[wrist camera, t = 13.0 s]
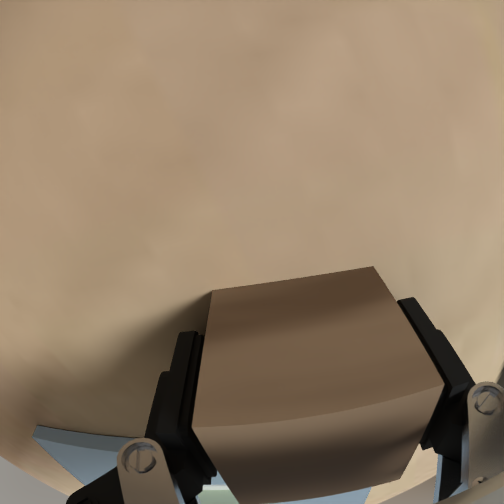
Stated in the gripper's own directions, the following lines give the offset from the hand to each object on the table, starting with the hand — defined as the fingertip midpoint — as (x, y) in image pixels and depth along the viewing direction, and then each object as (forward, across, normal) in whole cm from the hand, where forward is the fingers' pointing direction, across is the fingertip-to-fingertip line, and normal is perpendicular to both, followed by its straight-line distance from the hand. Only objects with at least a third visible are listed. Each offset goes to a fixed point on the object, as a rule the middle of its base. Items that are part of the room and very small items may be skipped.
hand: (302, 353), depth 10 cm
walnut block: (+1, 0, 0) cm, 1 cm away
